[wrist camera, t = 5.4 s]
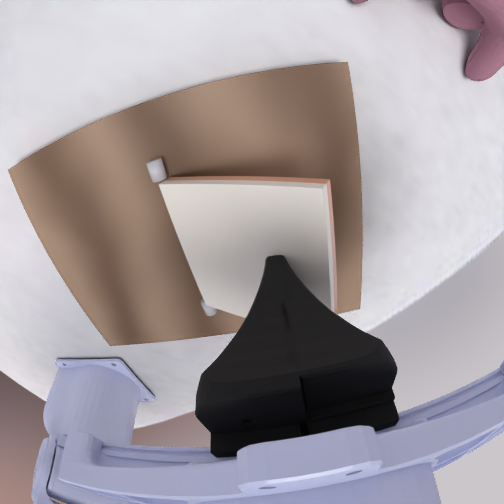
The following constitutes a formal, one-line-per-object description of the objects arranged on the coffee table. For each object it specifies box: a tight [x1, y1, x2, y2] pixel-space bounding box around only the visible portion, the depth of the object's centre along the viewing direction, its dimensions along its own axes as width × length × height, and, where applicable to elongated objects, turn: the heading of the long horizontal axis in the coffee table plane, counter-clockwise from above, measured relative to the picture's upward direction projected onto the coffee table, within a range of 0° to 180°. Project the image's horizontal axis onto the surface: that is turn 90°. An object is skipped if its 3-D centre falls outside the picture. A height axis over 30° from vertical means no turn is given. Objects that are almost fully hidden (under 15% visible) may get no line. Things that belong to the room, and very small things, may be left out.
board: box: [8, 62, 362, 346], centre depth 17 cm, size 20×16×1 cm
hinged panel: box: [146, 157, 337, 318], centre depth 14 cm, size 9×10×1 cm
